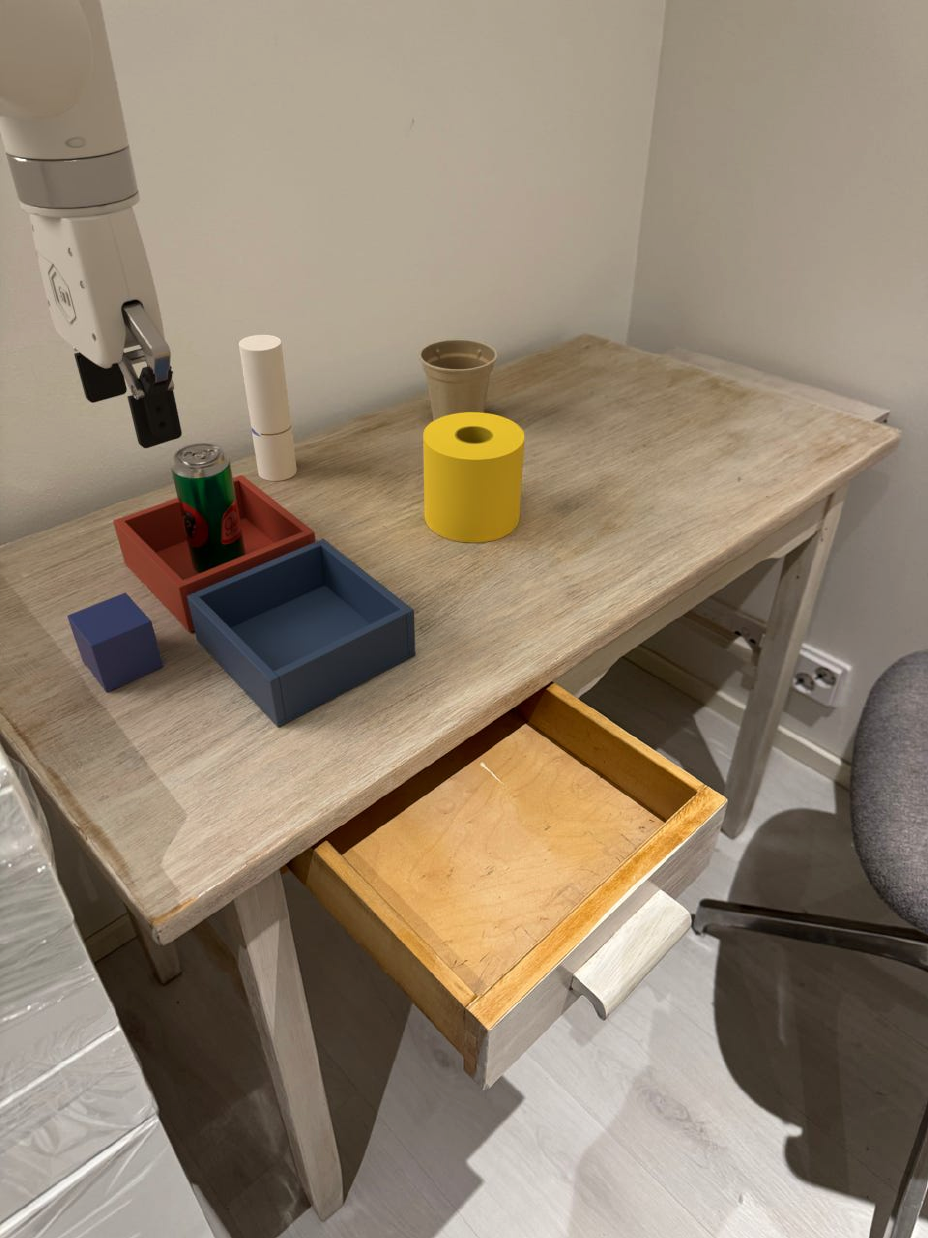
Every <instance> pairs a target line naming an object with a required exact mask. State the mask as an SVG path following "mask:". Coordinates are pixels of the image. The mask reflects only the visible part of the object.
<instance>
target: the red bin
mask: <svg viewBox="0 0 928 1238" xmlns="http://www.w3.org/2000/svg"><path fill="white" fill-rule="evenodd" d="M233 482H234V488H235V494H236V500H237V506H238V512H239V517H240V523H241V529H242V535H243V541H244V547H245V552H246V555H244V556H242V557H239V558H237V559H234V560H232V561H229V562H227V563H224V564H222V565H219V566H217V567H215V568H212V569H210V570H207V571H205V572H202V573H198V572H197V571H196V570H195V569H194V568H193V565H192V561H191V557H190V552H189V548H188V543H187V538H186V534H185V529H184V525H183V520H182V516H181V511H180V507H179V502H178V497H175V498H173V499H169V500H167V501H164V502H161V503H158V504H156V505H152V506H150V507H146V508H144V509H141V510H138V511H135V512H133V513H129V514H128V515H127V514H126V515H125V516H122V517H119V518H116V519H113V520H112V522H113V526H114V530H115V533H116V536H117V540H118V544H119V548H120V551H121V554H122V558H123V561H124V562H123V563H124V564H125V565H126V567H128V569H129V570H130V571H131V572H132V573H133V574H134V575H135V576H136V577H137V579H139V581H140V582H141V583H142V584H143V585H144V586H145V587H146V588H147V589H148V590H149V591H150V592H151V593H152V594H153V595H154V597H156V599H157V600H158V601H159V602H160V603H161V604H162V605H163V606H164V608H166V609H167V610H168V612H169V613H170V614H171V615H172V616H173V617H174V618H175V619H176V620H177V621H178V622H179V624H181V625H182V627H183V628H184V629H185V630H186V631H187V632H188V633H193V632H195V629H194V625H193V620H192V616H191V612H190V607H189V603H188V599H187V596H188V595H190V594H193V593H196V592H197V591H200V590H202V589H204V588H207V587H209V586H212V585H214V584H216V583H219V582H221V581H224V580H226V579H228V578H231V577H233V576H236V575H238V574H240V573H243V572H245V571H247V570H250V569H252V568H255V567H257V566H259V565H262V564H264V563H267V562H269V561H271V560H274V559H276V558H279V557H281V556H283V555H286V554H288V553H290V552H293V551H295V550H298V549H300V548H302V547H305V546H307V545H310V544H312V543H314V542H317V540H316V532H315V530H313V529H312V528H310V527H309V526H308V525H306V524H305V523H304V521H301V520H300V519H299V518H298V517H296V516H295V515H294V514H292V513H291V512H290V511H289V510H288V509H286V508H285V507H284V506H282V505H281V504H280V503H279V502H277V501H276V500H274V499H273V498H272V497H271V496H270V495H269V494H267V493H266V492H264V491H263V490H262V489H261V488H259V487H258V486H257V485H256V484H254V483H253V482H252V481H251V480H249V479H248V478H247V477H246V476H244V475H243V474H240V475H237V476H235V477H233Z"/></svg>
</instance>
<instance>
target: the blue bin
mask: <svg viewBox="0 0 928 1238" xmlns="http://www.w3.org/2000/svg"><path fill="white" fill-rule="evenodd" d="M187 599H188V603H189V607H190V612H191V616H192V620H193V625H194V629H195V631H194V633H195V638H196V641H197V642H198V644H200V646H201V647H202V648H203V649H204V650H205V651H206V652H207V653H208V654H209V655H210V656H211V657H212V659H213V660H214V661H215V662H216V663H217V664H218V665H219V666H220V667H221V668H222V669H223V671H225V673H226V674H227V675H228V676H229V677H230V678H231V679H232V680H233V681H234V682H235V683H236V684H237V685H238V686H239V687H240V689H241V690H243V691H244V693H245V694H246V695H247V696H248V698H250V699H251V700H252V701H253V703H254V704H256V706H257V707H258V708H259V709H260V710H261V711H262V712H263V713H264V715H265V716H267V718H268V719H269V720H270V721H271V722H272V723H273V724H274V725H275V726H276V727H277V728H281V727H282V726H284V725H285V724H288V723H290V722H291V721H294V720H295V719H297V718H299V717H302V716H303V715H305V714H307V713H309V712H311V711H313V710H314V709H316V708H318V707H320V706H322V705H324V704H326V703H327V702H330V701H332V700H333V699H336V698H337V697H339V696H341V695H343V694H345V693H347V692H348V691H350V690H352V689H354V688H356V687H358V686H360V685H361V684H363V683H365V682H367V681H369V680H371V679H373V678H375V677H377V676H378V675H380V674H382V673H384V672H386V671H388V670H390V669H392V668H393V667H396V666H397V665H400V664H401V663H403V662H405V661H407V660H409V659H411V658H413V657H414V656H416V634H415V633H416V632H415V609H413V608H412V607H411V606H410V605H409V604H407V603H406V602H405V601H404V600H402V599H401V598H399V597H398V596H397V595H396V594H395V593H393V591H391V590H389V589H388V588H387V587H386V586H384V584H382V583H381V582H379V581H378V580H376V579H375V578H374V577H373V576H372V575H370V574H369V573H368V572H367V571H365V570H364V569H362V568H361V567H360V566H359V565H358V564H356V563H355V562H354V561H352V560H351V559H350V558H349V557H348V556H346V555H345V554H344V553H342V552H341V551H340V550H338V549H337V548H336V547H335V546H333V544H331V543H329V542H328V540H326V539H325V538H321V539H319V540H316V542H314V543H312V544H310V545H307V546H305V547H302V548H300V549H298V550H295V551H293V552H290V553H288V554H286V555H283V556H281V557H279V558H276V559H274V560H271V561H269V562H267V563H264V564H262V565H259V566H257V567H255V568H252V569H250V570H247V571H245V572H243V573H240V574H238V575H236V576H233V577H231V578H228V579H226V580H224V581H221V582H219V583H216V584H214V585H212V586H209V587H207V588H204V589H202V590H200V591H197V592H196V593H193V594H190V595H188V596H187Z"/></svg>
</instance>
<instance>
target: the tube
mask: <svg viewBox="0 0 928 1238" xmlns="http://www.w3.org/2000/svg"><path fill="white" fill-rule="evenodd" d="M238 350H239V356H240V362H241V369H242V376H243V381H244V389H245V394H246V401H247V408H248V415H249V421H250V426H251V427H250V428H251V435H252V440H253V447H254V448H253V449H254V453H255V461H256V467H257V473H258V476H259V478H261V479H263V480H264V481H269V482H281V481H285V480H288V479H290V478H292V477H294V476H295V475H296V474H297V471H298V469H297V461H296V451H295V445H294V436H293V428H292V420H291V419H292V418H291V412H290V411H291V410H290V403H289V395H288V387H287V378H286V371H285V370H286V369H285V362H284V354H283V347H282V339H280V338H279V337H278V336H276V335H272V334H255V335H254V334H253V335H249V336H246V337H243V338H242V339H240V340H239V342H238Z"/></svg>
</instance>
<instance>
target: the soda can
mask: <svg viewBox="0 0 928 1238" xmlns="http://www.w3.org/2000/svg"><path fill="white" fill-rule="evenodd" d="M172 458H173V462H172V465H171V469H170V470H171V473H172V479H173V483H174V484H173V485H174V488H175V492H176V498H178V502H179V507H180V511H181V516H182V520H183V525H184V529H185V534H186V538H187V543H188V548H189V552H190V557H191V561H192V565H193V568H194V569H195V570H196V571H197V572H198V573H202V572H205V571H207V570H210V569H212V568H215V567H217V566H219V565H222V564H224V563H227V562H229V561H232V560H234V559H237V558H239V557H242V556H244V555H246V552H245V547H244V541H243V535H242V529H241V523H240V517H239V512H238V506H237V500H236V494H235V488H234V482H233V478H234V477H233V470H232V466H231V461H230V459H229V457H228V456H226V454H225V451H224V449H223V448H222V447H221V446H220V445H218V444H216V443H215V444H214V443H211V442H210V443H209V442H197V443H191V444H187V445H185V446H182V447H180V448H179V449H178V450H176V451H175V452H174V454H173V457H172Z"/></svg>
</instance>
